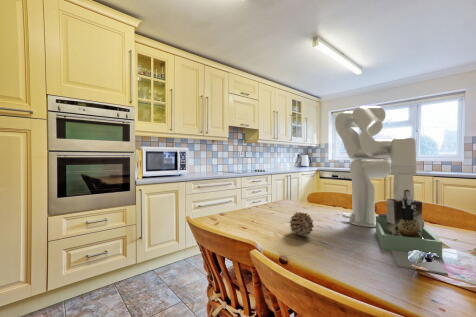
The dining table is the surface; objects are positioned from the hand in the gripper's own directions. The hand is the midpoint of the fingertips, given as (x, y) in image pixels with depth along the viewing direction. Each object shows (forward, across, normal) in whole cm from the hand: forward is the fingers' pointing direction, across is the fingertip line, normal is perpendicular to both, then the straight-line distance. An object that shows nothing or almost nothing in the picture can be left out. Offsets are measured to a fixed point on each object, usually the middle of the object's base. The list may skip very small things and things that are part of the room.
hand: (404, 217), depth 82 cm
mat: (+10, +16, 0) cm, 19 cm away
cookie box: (+10, 0, 0) cm, 10 cm away
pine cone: (+10, +4, -37) cm, 39 cm away
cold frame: (+10, 0, 0) cm, 10 cm away
